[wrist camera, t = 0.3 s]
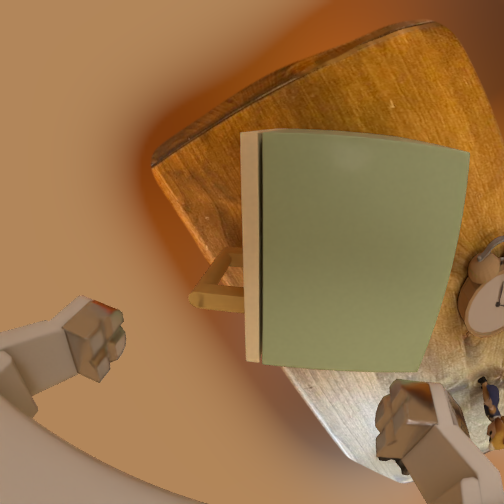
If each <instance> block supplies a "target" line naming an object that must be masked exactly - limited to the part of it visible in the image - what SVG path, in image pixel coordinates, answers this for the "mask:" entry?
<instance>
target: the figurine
mask: <svg viewBox="0 0 504 504" xmlns="http://www.w3.org/2000/svg"><path fill="white" fill-rule="evenodd" d="M478 383H481V385H482V387H481V388H482V389H483V399H484V403H483V404H485V405H484V409H485V414H486V416H487V417H488V419H489V420H490V421H491V422H492V423H491V424H490V425H489V426H488V430H487V435H489V436H490V438H489V442H490V444H489V450H491V451H493V450H500V449H504V416H502V417H501V415H500V412H499V410H498V408H497V406H498V403H499V390H498V388H497V387H496V386H494V385H489V384H488V383H487V380H486V379H485V377H482V378H480V379H479V380H478Z"/></svg>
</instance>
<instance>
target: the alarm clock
mask: <svg viewBox="0 0 504 504" xmlns="http://www.w3.org/2000/svg"><path fill="white" fill-rule="evenodd" d="M501 242H504V235H503V236H500V237H498V238H496V239H494V240H493V241H492V242H490V244H489V245H488V246H487V247H486V249H485V250H484V251H483V252H482V253H479V254H477V255H476V256H475V257H473V259H472V260H471V261H470V263H469V266H468V275H469V277H468V278H467V279H466V281H465V283H464V285H463V286H462V288H461V291H460V294H459V298H458V310H459V313H460V315H461V318H462V319H463V321H464V323H465V325H466V327H467V330H468V332H467V333H466V335H467V336H468V335H469V334H472V335H473V336H477V337H481V338H483V337H491V336H494V335H496V334H499V333H501V332H502V331H504V257H501V258H498V257H496V256H495V255H494V254H493V253H490V252H491V250H492V249H493V248H494V247H495V246H496V245H498V244H499V243H501Z"/></svg>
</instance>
